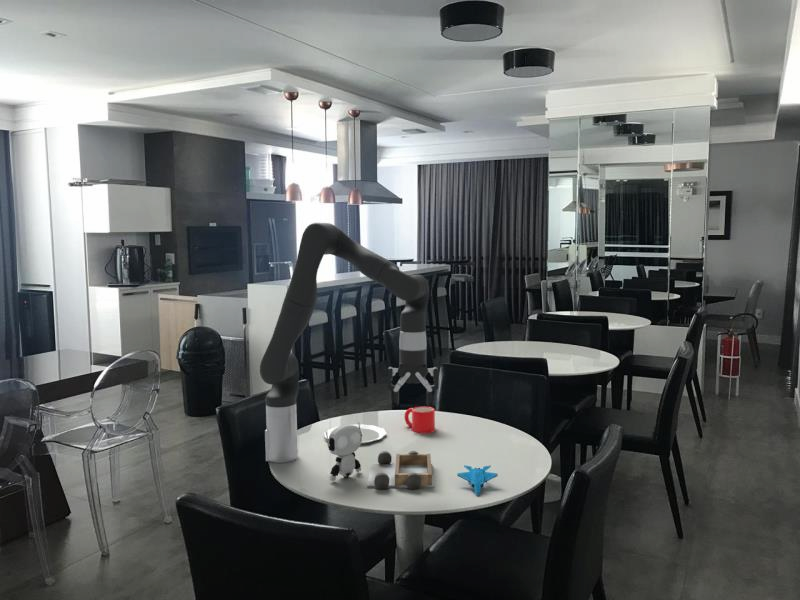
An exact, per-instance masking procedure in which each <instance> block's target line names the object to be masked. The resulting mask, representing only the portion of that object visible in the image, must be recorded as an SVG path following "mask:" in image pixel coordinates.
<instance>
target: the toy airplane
mask: <svg viewBox="0 0 800 600" xmlns="http://www.w3.org/2000/svg"><path fill="white" fill-rule="evenodd" d="M463 467H464V468H465V469H467V471H464V472H457V474H456V475H457V477H459V478H461V479H463V480H465V481H467V482H468V483H470V486H471V487H472V488H473V489H474V492H475V495H476V496H477V497H478V496H479V495H480V493H481V490H482V488H483V487H485V484H488V481H491V480H492V479H495V478H497V477H498V474H499V473H496V472H490V471H488V470H489V469H490V468H492V466H491V465H490V464H489V465H485V466H483V467H482V468H480V467H478V468H477V467H474V468H472V466H470V465H465V464H464V466H463Z"/></svg>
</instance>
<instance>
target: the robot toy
mask: <svg viewBox="0 0 800 600" xmlns="http://www.w3.org/2000/svg"><path fill="white" fill-rule="evenodd" d="M357 424H358V425H359V427H357V426H354V425H355V424H341V425H339V426H340V427H339V426H336V427H337V428H336V429H334V430H333V431H332V432H331V434H330V436H329V439H328V435H327V431H328V430H326V431H325V432H326V436H327V439H326V441H327V447H328V451H330V453H331V454H332V455H335V456H336V457H335V459H334V460H335V464H334V465H333V466H332V467H331V470H330V475H331V476H329V477H330V478H329V480H330V482H335V481H336V479H337V477H338V476H339V475H341V476H342V477H343V478H349V477H350V476H351V475H352V474H353V473H354V470H355V472H356V473H357V474H358V473H360V472H361V471H362V465H361V463H360V461H359V460H358V459H357V458H356V453H355V452H356V451H357V450H359V448H360V447H361V445H362V444H361V442H363V440H362V438H363V434H362V429H360V421H358V423H357Z"/></svg>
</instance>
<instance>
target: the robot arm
mask: <svg viewBox="0 0 800 600" xmlns="http://www.w3.org/2000/svg"><path fill="white" fill-rule="evenodd" d="M325 255H332V256H334V257H338V258H341V259H343V260H344V261H347V262H348V263H350V264H351V265H352V266H353V267H355V268H356V270H358V271H359V272H360V273H361V274H363V275H364V276H366V277H367V278H368V279H370V280H372V281H373V282H375V283H377V284H379V285H381V286H383V287H384V288H386V290H388V292H390V293H391V294H392V295H394V296H395V297H396V298H398V299H400V300H401V301H404V302H405V304H404V305H405V307H404V308H403V310H402V311H401V313H400V316H399V320H400V321H399V325H400V326H399V327H400V328H399V339H398V341H399V342H398V345H399V346H398V348H399V349H398V350H399V353H398V354H399V356H398V358H399V364H398V365H399V366H398V368H397V367H392V366H389V367H388V370H387V382H386V383H387V384H386V388H387V390H389V391H392V392H393V403H394V404H395V405H396V406H399V404H400V392H399V391H400V388H401V387H402V386H403V385H404V384H405V383H406V384H416V385H417V384H420V383H421V384H422V385H423V387H424V388H425V389H426V406H430V404H431V403H432V402H433V392H434V391H437V390H439V387H440V386H439V371H438V367H437V366H434V367H430V368H428V365H427V345H428V344H427V333H426V332H427V331H426V323H427V322H426V312H427V309H428V304H429V298H430V284H429V282H428V280H427V278H425V277H424V276H423V275H421V274H407V273H405V272H404V271H402V270H401V269H400V268H399V267H400V266H398V265H397V264H395V263H394V262H392V261H391V260H389V259H386V258H385V257H383V256H381V255H379V254H377V253H376V252H374V251H371V250H370V249H368V248H367V247H365V246H363V245H361V244H360V243H358V242H357V241H356V240H354V239H353V238H351V237H350V236H349V235H347V234H346V233H345V232H344V231H343V230H341V229H340V228H338V227H337V226H336V225H334V224H332V223H330V222H312V223H310V224H309V225H308V226H306V227H305V229H304V230H303V232H302V235H301V239H300V244H299V248H298V254H297V257H296V261H295V266H294V269H293V272H292V275H291V278H290V282H289V284H288V287H287V290H286V293H285V296H284V299H283V302H282V305H281V309H280V312H279V315H278V317H277V321H276V325H275V327H274V331H273V333H272V336H271V337H270V338H271V339H270V340H269V343H268V345H267V347H266V350H265V352H264V354H263V356H262V358H261V361H260V364H259V374H260V378H261V379H262V380H263V382H264V383H265V384H268V385H271V387H270V390H269V391H268V392H267V394H266V395H265V415H266V416H265V420H266V421H265V423H266V429H265V430H264V442H265V445H264V446H265V448H264V449H265V462H271V463H276V464H278V463H280V464H283V463H290V462H292V461H295V460H297V459H298V458H297V457H299V455H298V452H299V451H298V450H299V449H298V421H297V416H298V415H297V413H298V412H297V398H298V395H299V386H300V385H299V384H300V381H299V379H300V370H299V369H300V368H299V362H298V359H297V357H296V356H295V354H294V353H293V352H291V351H292V349H293V347H294V345H295V343H296V342H297V340H298V339H299V337H300V336H301V335H302V333H303V332H304V331H305V329H306V327H307V326H308V324H309V323H310V321H311V318H312V316H313V314H314V311H315V307H316V305H317V300H318V284H317V283H318V282H317V277H318V271H319V269H320V265H321V262H322V260H323V257H324V256H325ZM396 373H398V375H399V376H400V378H399V379H398V381H397V382H396V384H395V385H394V384H393V377H394V376H396ZM428 373H429V374H430V376H431V377H433V384H432V385H431V383H429V381H428V380H427V378H426V376H427V375H428ZM296 458H297V459H296Z"/></svg>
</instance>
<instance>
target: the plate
mask: <svg viewBox="0 0 800 600" xmlns="http://www.w3.org/2000/svg"><path fill="white" fill-rule="evenodd" d="M353 425H354V426H357V427H359V425H358V423H357V424H356V423H355V424H353ZM340 426H341V425H339V426H335V427H332V428H329V429H328V430H326V431H327V435H328V439H329V436H330V434H331V432H332V431H333V430H334V429H336V428H337V427H340ZM360 429H361V430H370V431H372V432H376V433H377V434H378V437H377V438H374V439H372V440H371V439H370V440H367V441H361V445H363V444H368V443H373V442H375V441H378V440H381V439H383V438H384V437H385V436H386V435H387V431H386V430H385V429H384V428H383V427H378V426H376V425H372V424H363V423H361V424H360ZM326 431H324V433H323V435H324V439H326V440H327V436H326Z"/></svg>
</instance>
